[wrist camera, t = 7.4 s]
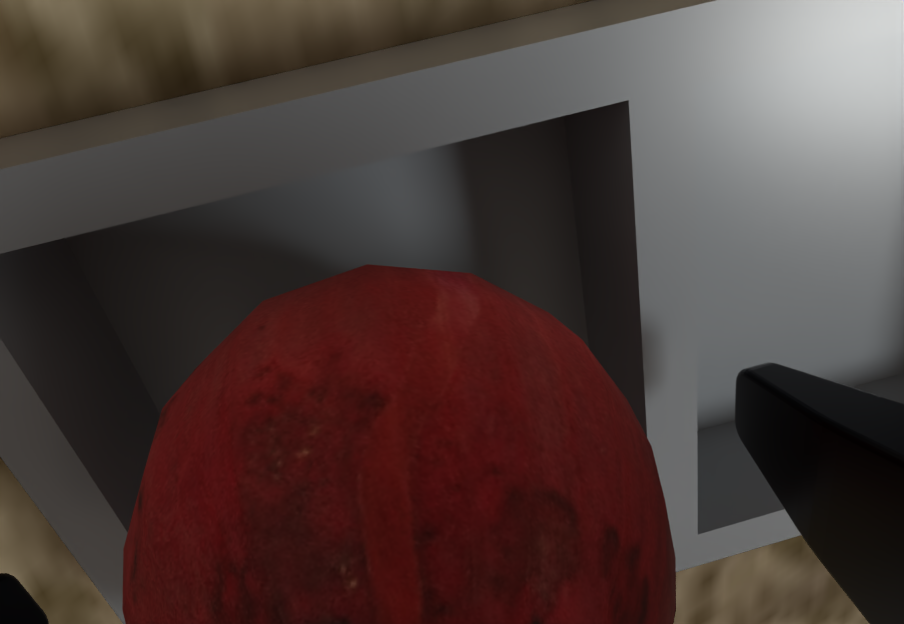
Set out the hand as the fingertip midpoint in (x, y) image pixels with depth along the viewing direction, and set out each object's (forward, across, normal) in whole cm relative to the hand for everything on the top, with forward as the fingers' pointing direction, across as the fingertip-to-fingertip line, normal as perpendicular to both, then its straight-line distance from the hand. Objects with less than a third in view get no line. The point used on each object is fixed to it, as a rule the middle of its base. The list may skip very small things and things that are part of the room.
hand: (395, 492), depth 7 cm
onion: (+4, 0, 0) cm, 4 cm away
